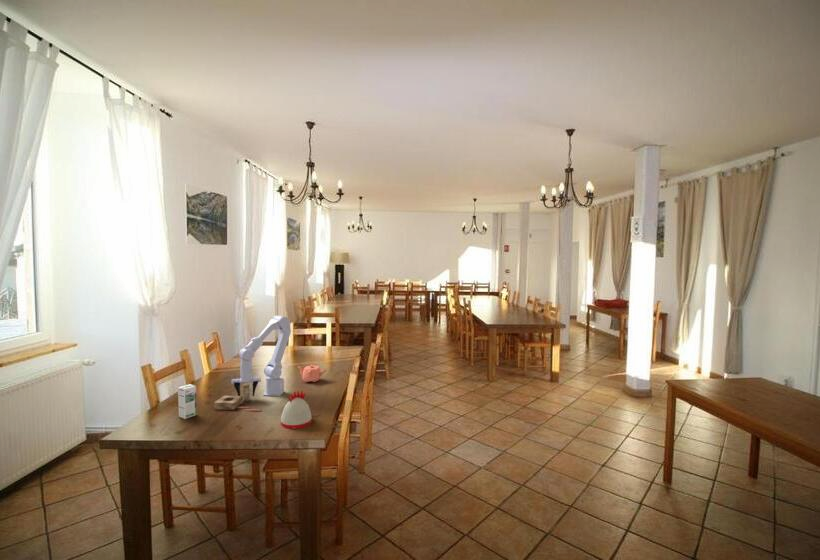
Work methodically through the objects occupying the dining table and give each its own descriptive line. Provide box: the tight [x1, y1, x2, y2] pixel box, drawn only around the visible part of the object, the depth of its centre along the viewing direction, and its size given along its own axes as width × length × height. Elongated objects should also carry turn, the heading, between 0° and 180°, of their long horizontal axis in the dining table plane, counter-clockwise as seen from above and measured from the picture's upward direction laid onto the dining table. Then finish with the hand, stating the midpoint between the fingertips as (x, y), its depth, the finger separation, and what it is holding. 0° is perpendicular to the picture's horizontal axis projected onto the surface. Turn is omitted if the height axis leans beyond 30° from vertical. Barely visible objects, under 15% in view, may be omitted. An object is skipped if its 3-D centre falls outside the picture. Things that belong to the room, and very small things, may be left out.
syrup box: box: [177, 383, 198, 420], centre depth 186 cm, size 6×6×14 cm
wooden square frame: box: [213, 395, 244, 411], centre depth 200 cm, size 10×10×4 cm
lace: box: [235, 406, 263, 412], centre depth 196 cm, size 15×4×1 cm, turn 88°
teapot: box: [297, 364, 327, 383], centre depth 243 cm, size 14×12×10 cm
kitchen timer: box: [280, 389, 313, 430], centre depth 181 cm, size 14×14×15 cm
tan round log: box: [242, 383, 250, 402], centre depth 209 cm, size 3×3×8 cm
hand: (246, 395), depth 209 cm, fingers open, 6 cm apart
